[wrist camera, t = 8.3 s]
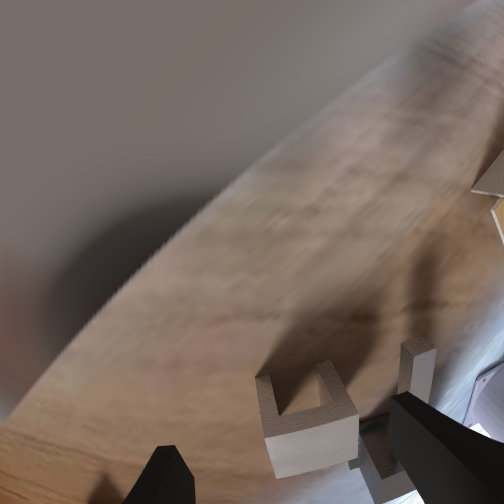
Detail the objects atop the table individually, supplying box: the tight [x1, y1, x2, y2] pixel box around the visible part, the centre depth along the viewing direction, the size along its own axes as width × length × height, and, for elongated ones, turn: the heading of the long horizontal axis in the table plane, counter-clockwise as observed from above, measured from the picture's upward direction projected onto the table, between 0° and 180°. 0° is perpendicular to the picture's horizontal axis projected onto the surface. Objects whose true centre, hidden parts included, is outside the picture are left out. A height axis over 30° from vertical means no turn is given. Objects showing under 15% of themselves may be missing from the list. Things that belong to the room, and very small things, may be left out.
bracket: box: [255, 360, 359, 479], centre depth 18 cm, size 5×4×6 cm
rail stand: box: [349, 335, 437, 504], centre depth 19 cm, size 6×16×6 cm, turn 11°
